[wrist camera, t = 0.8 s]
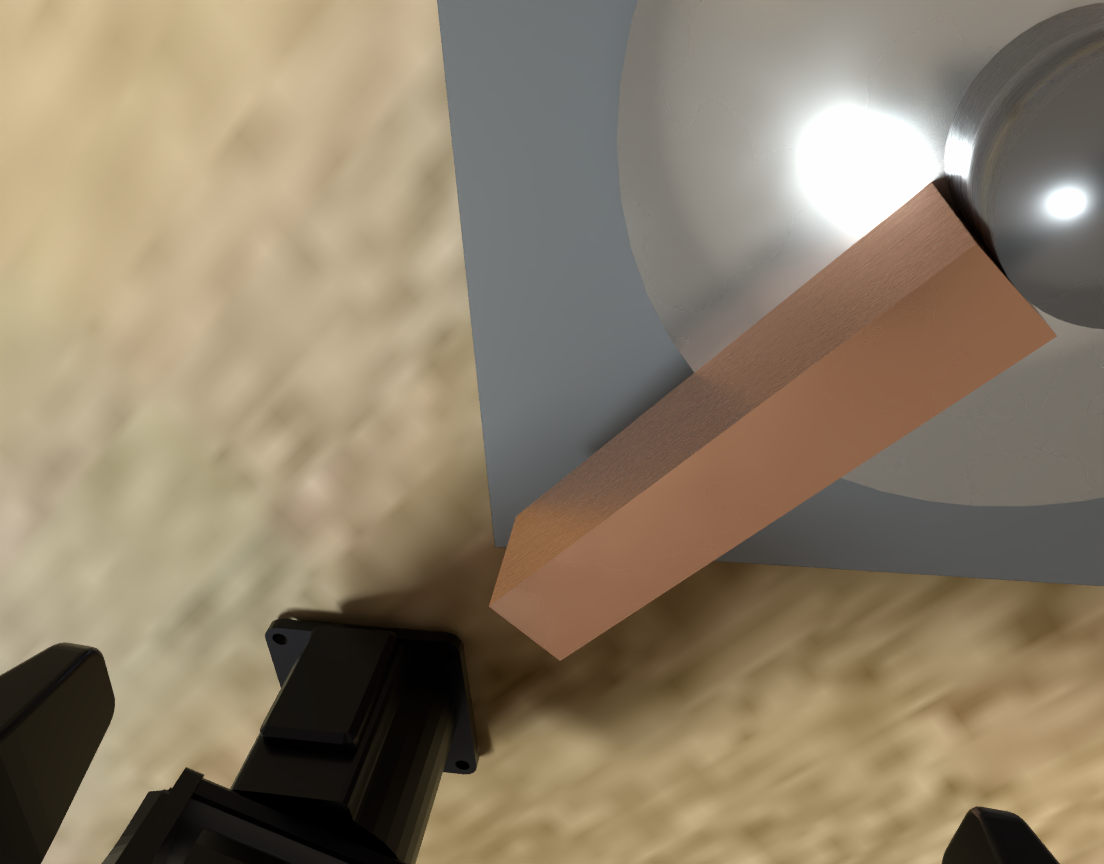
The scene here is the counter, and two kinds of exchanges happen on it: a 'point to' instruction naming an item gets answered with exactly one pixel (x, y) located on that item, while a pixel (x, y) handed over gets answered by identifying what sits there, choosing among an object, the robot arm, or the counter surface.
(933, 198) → the grey disc with handle
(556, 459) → the post plate
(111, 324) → the counter surface
